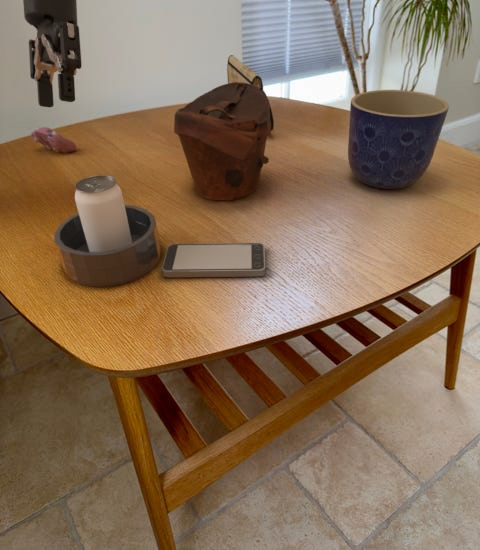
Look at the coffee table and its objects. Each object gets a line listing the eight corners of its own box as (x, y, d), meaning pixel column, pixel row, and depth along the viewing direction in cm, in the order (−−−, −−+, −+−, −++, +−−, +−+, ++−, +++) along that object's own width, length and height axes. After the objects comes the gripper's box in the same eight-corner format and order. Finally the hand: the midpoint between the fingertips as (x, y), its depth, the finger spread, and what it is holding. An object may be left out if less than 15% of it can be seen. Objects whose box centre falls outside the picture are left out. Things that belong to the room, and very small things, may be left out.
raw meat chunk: (42, 153, 108) (23, 132, 102) (54, 140, 110) (36, 118, 104) (68, 161, 104) (49, 139, 98) (79, 147, 105) (61, 125, 99)
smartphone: (265, 270, 62) (161, 271, 62) (265, 276, 62) (162, 277, 63) (264, 242, 68) (168, 243, 68) (263, 248, 68) (169, 249, 69)
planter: (356, 158, 97) (366, 85, 88) (436, 172, 90) (456, 95, 81) (329, 187, 85) (337, 108, 76) (418, 206, 78) (439, 121, 69)
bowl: (50, 288, 62) (38, 256, 58) (80, 234, 73) (72, 205, 70) (152, 285, 62) (146, 253, 58) (166, 232, 73) (162, 203, 70)
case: (183, 216, 78) (172, 114, 67) (178, 171, 93) (168, 83, 83) (281, 206, 80) (284, 106, 69) (260, 164, 95) (260, 77, 85)
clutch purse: (280, 140, 107) (282, 75, 98) (253, 143, 106) (252, 77, 97) (249, 107, 131) (249, 52, 122) (227, 109, 129) (224, 53, 120)
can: (107, 272, 64) (87, 198, 56) (83, 256, 67) (62, 184, 60) (142, 253, 67) (128, 181, 60) (118, 239, 71) (102, 169, 64)
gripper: (8, -4, 68) (16, 105, 72) (41, -34, 58) (49, 95, 62) (56, 10, 73) (62, 111, 77) (94, -15, 63) (99, 102, 67)
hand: (56, 104), depth 69 cm, fingers open, 8 cm apart
